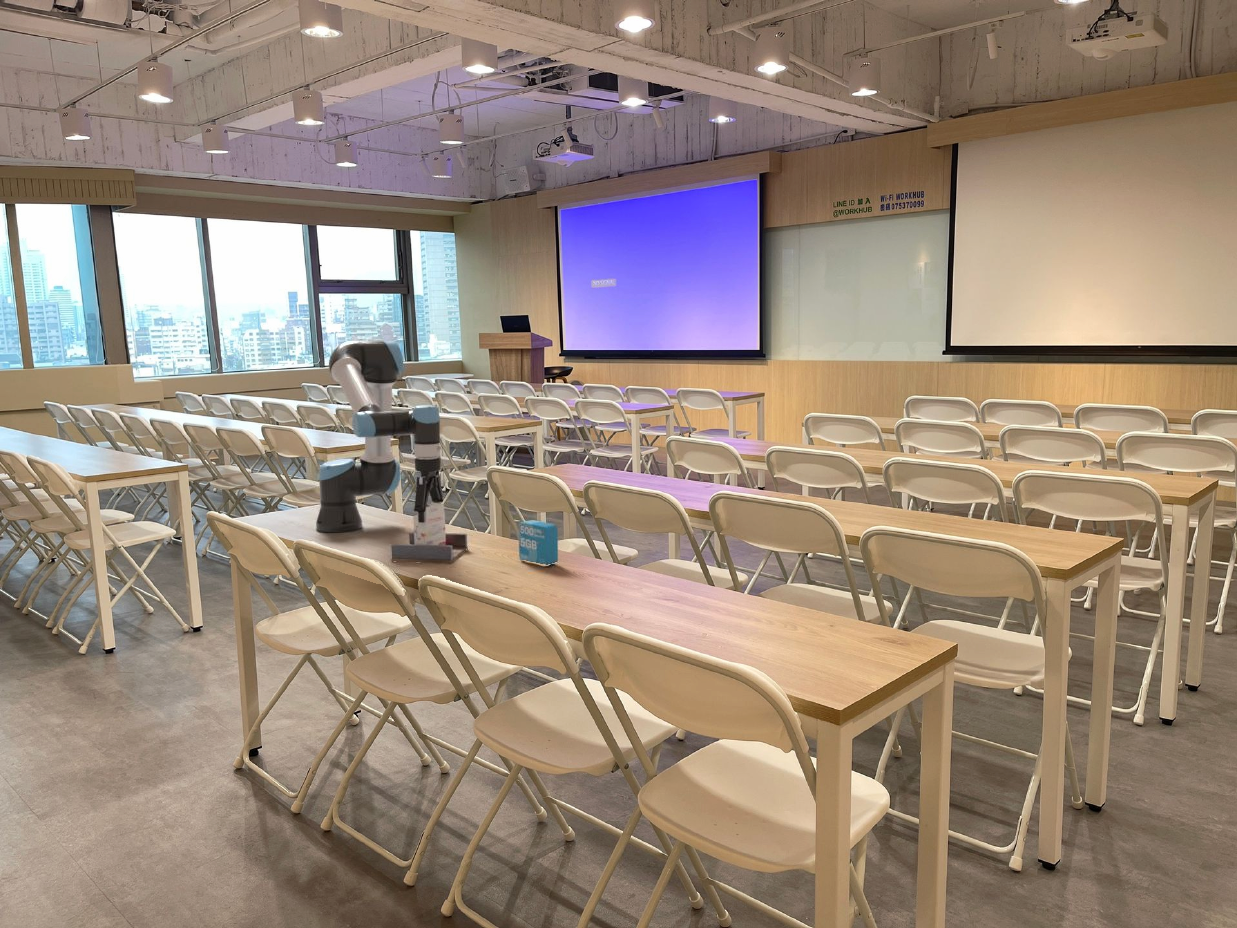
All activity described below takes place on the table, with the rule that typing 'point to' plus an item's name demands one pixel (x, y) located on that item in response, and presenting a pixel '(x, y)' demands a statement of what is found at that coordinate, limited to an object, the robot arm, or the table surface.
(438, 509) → the ink cartridge box
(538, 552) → the data package
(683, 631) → the table surface
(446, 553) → the track board
